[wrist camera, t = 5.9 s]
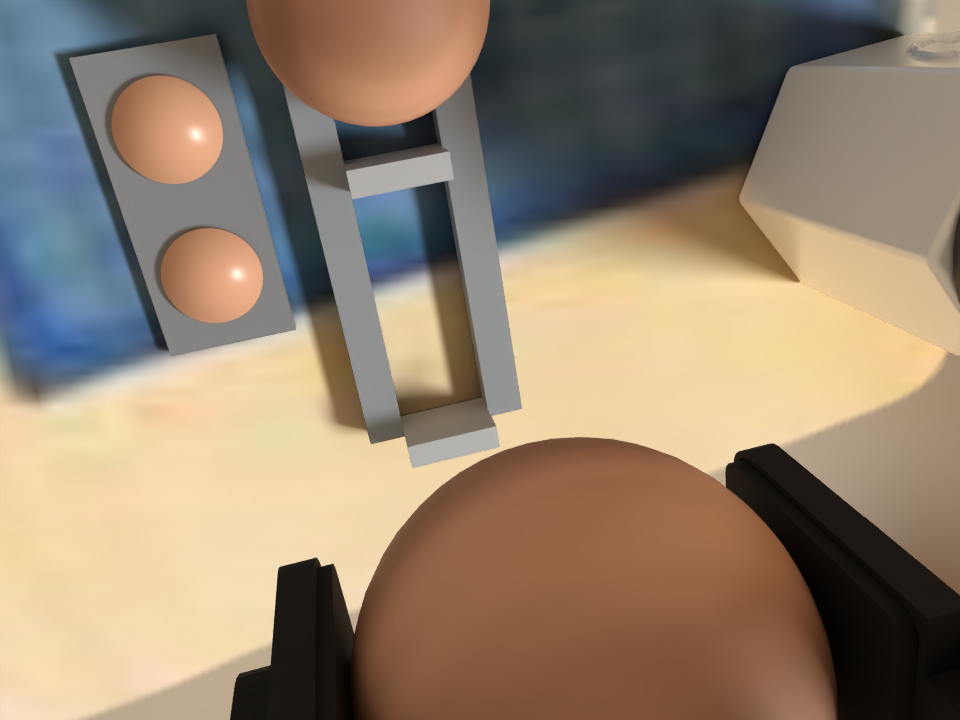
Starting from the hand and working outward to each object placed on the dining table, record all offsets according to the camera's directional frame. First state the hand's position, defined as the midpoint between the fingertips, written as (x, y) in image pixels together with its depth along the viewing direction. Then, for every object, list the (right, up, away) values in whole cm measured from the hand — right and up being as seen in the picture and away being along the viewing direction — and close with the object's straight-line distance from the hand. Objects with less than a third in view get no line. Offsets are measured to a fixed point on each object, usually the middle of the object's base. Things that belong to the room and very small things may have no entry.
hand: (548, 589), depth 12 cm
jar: (+12, +10, +16) cm, 23 cm away
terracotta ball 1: (-4, +13, +10) cm, 18 cm away
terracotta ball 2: (0, 0, +1) cm, 1 cm away
